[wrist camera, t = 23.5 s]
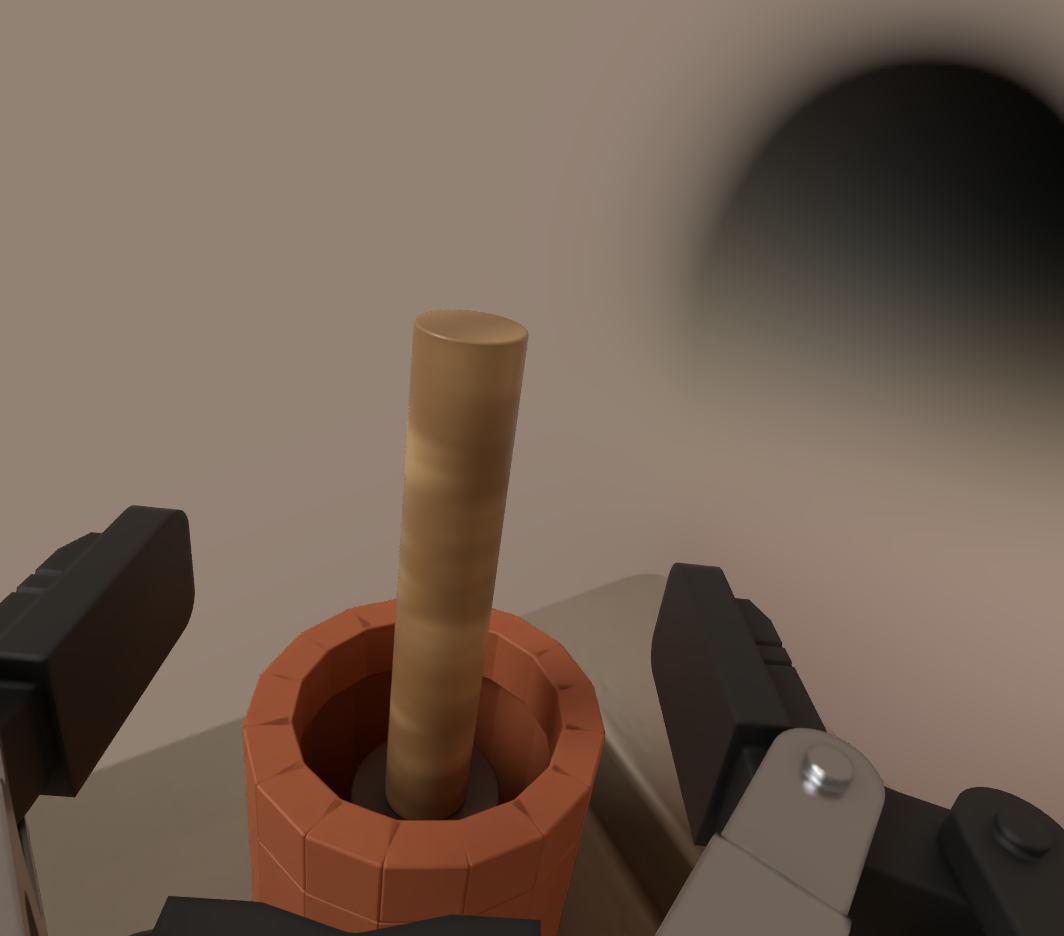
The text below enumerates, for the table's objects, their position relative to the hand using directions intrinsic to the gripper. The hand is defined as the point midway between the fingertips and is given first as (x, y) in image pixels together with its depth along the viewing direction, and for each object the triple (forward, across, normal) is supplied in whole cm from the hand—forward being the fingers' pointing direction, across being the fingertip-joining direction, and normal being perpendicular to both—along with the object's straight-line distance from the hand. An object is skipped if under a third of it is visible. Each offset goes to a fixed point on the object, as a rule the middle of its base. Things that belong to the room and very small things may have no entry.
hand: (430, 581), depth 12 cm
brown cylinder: (+5, 0, +17) cm, 18 cm away
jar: (+5, 0, +18) cm, 18 cm away
